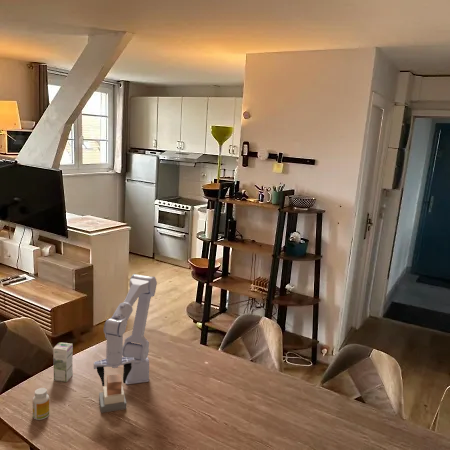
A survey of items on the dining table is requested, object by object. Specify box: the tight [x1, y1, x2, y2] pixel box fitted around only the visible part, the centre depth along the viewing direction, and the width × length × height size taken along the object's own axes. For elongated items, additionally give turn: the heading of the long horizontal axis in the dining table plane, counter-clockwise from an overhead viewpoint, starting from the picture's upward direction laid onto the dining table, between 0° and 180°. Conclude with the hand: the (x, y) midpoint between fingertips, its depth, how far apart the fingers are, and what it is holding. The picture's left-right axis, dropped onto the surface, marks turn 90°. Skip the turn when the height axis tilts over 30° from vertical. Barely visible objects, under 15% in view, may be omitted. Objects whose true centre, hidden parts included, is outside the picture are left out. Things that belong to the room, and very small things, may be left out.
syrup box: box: [52, 342, 74, 383], centre depth 171 cm, size 6×6×14 cm
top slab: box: [102, 385, 125, 405], centre depth 158 cm, size 7×7×3 cm
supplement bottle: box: [32, 387, 50, 421], centre depth 148 cm, size 5×5×10 cm
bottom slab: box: [98, 391, 127, 414], centre depth 159 cm, size 9×9×3 cm
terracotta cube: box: [106, 373, 123, 395], centre depth 157 cm, size 5×5×5 cm
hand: (113, 383), depth 157 cm, fingers open, 7 cm apart
